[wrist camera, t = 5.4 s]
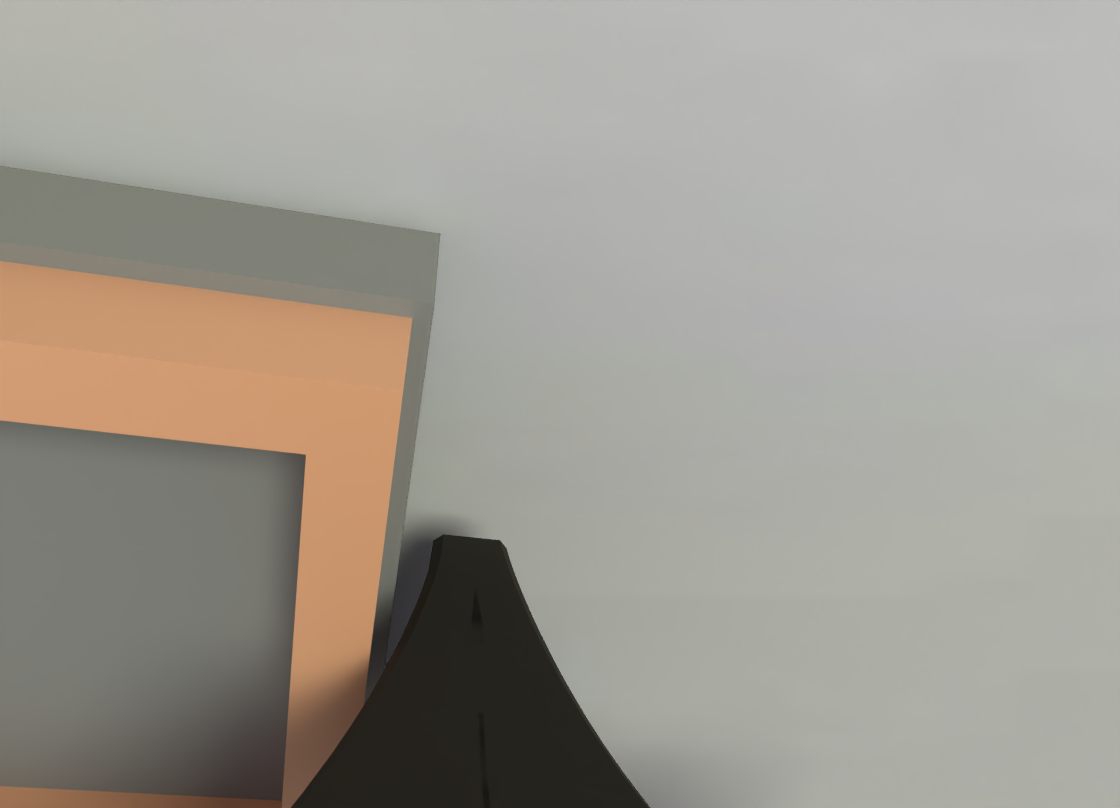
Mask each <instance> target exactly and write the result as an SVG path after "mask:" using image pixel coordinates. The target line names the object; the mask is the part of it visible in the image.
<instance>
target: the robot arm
mask: <svg viewBox="0 0 1120 808" xmlns="http://www.w3.org/2000/svg"><path fill="white" fill-rule="evenodd" d="M291 808H650V807H649V806H648V804H647V803H646V802H645V800H644V799H643V798H642V796H641V795H640V794H639V793H638V791H637V790H636V789H635V787H634V786H633V785H632V783H631V782H630V781H629V779H628V778H627V777H626V775H625V774H624V773H623V771H622V770H621V768H620V767H619V766H618V764H617V763H616V761H615V760H614V758H613V757H612V756H611V754H610V753H609V751H608V750H607V748H606V747H605V746H604V744H603V743H602V741H601V740H600V738H599V736H598V735H597V733H596V732H595V730H594V729H593V727H592V726H591V724H590V722H589V721H588V719H587V718H586V716H585V714H584V713H583V711H582V709H581V708H580V706H579V704H578V703H577V701H576V699H575V697H574V696H573V694H572V692H571V691H570V689H569V687H568V686H567V684H566V682H565V680H564V678H563V676H562V675H561V673H560V671H559V669H558V667H557V665H556V663H555V661H554V660H553V658H552V656H551V654H550V652H549V650H548V648H547V646H546V644H545V642H544V640H543V638H542V636H541V634H540V632H539V630H538V628H537V625H536V623H535V621H534V619H533V617H532V615H531V612H530V610H529V608H528V605H527V603H526V601H525V598H524V596H523V594H522V591H521V589H520V586H519V584H518V581H517V579H516V576H515V573H514V571H513V568H512V565H511V562H510V559H509V556H508V552H507V549H506V547H505V546H504V545H503V544H502V542H501V541H500V540H491V539H481V538H471V537H462V536H452V535H442V536H440V537H439V538H437V539H435V540H434V541H433V547H432V553H431V560H430V566H429V571H428V574H427V577H426V580H425V583H424V586H423V589H422V591H421V594H420V597H419V599H418V602H417V604H416V607H415V609H414V611H413V613H412V615H411V618H410V620H409V622H408V624H407V626H406V628H405V631H404V633H403V635H402V637H401V639H400V642H399V643H398V645H397V647H396V649H395V651H394V653H393V655H392V657H391V659H390V660H389V662H388V664H387V666H386V668H385V669H384V671H383V673H382V675H381V676H380V678H379V680H378V682H377V684H376V685H375V687H374V689H373V691H372V693H371V694H370V696H369V698H368V699H367V701H366V702H365V704H364V706H363V707H362V709H361V710H360V712H359V714H358V715H357V717H356V718H355V720H354V721H353V723H352V725H351V726H350V728H349V729H348V731H347V732H346V733H345V735H344V736H343V738H342V739H341V741H340V742H339V744H338V745H337V747H336V748H335V750H334V751H333V752H332V754H331V755H330V757H329V758H328V759H327V761H326V762H325V763H324V765H323V766H322V767H321V769H320V770H319V771H318V773H317V774H316V775H315V777H314V778H313V779H312V781H311V782H310V783H309V785H308V786H307V787H306V789H305V790H304V792H303V793H302V794H301V795H300V797H299V798H298V799H297V800H296V802H295V803H294V804H293V805H292V807H291Z"/></svg>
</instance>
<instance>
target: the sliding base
mask: <svg viewBox="0 0 1120 808" xmlns="http://www.w3.org/2000/svg"><path fill="white" fill-rule="evenodd" d="M439 242H440V234H438V233H432V232H425V231H419V230H412V229H406V228H400V227H393V226H387V225H380V224H374V223H367V222H361V221H354V220H348V219H341V218H335V217H328V216H322V215H315V214H309V213H302V212H296V211H289V210H283V209H276V208H270V207H263V206H257V205H250V204H244V203H237V202H231V201H224V200H218V199H211V198H205V197H198V196H192V195H185V194H179V193H172V192H166V191H159V190H153V189H146V188H140V187H133V186H127V185H120V184H114V183H107V182H101V181H94V180H88V179H81V178H75V177H68V176H62V175H55V174H49V173H42V172H36V171H29V170H23V169H17V168H10V167H4V166H0V808H291V807H292V805H293V804H294V803H295V802H296V800H297V799H298V798H299V797H300V795H301V794H302V793H303V792H304V790H305V789H306V787H307V786H308V785H309V783H310V782H311V781H312V779H313V778H314V777H315V775H316V774H317V773H318V771H319V770H320V769H321V767H322V766H323V765H324V763H325V762H326V761H327V759H328V758H329V757H330V755H331V754H332V752H333V751H334V750H335V748H336V747H337V745H338V744H339V742H340V741H341V739H342V738H343V736H344V735H345V733H346V732H347V731H348V729H349V728H350V726H351V725H352V723H353V721H354V720H355V718H356V717H357V715H358V714H359V712H360V710H361V709H362V707H363V706H364V704H365V702H366V701H367V699H368V698H369V696H370V694H371V693H372V691H373V689H374V687H375V685H376V684H377V682H378V680H379V678H380V676H381V675H382V673H383V671H384V666H385V658H386V651H387V644H388V637H389V629H390V622H391V615H392V607H393V600H394V593H395V586H396V578H397V571H398V564H399V557H400V549H401V542H402V535H403V528H404V520H405V513H406V506H407V499H408V491H409V484H410V477H411V469H412V462H413V455H414V448H415V440H416V433H417V426H418V419H419V411H420V404H421V397H422V390H423V382H424V375H425V368H426V361H427V353H428V346H429V339H430V331H431V324H432V317H433V310H434V302H435V290H436V278H437V266H438V254H439Z"/></svg>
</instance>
